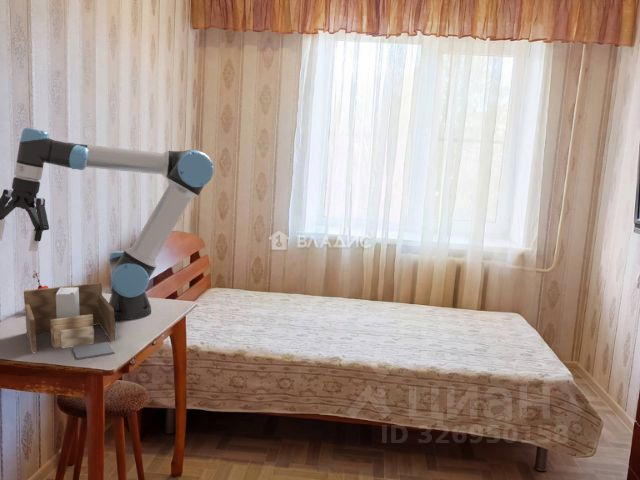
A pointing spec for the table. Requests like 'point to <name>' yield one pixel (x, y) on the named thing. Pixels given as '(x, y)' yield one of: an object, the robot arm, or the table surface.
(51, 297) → the walnut rack
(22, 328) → the table surface
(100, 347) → the grey rubber mat
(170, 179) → the robot arm
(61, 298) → the skincare box
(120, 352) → the table surface
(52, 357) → the table surface
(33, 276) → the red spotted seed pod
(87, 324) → the offcut bundle
